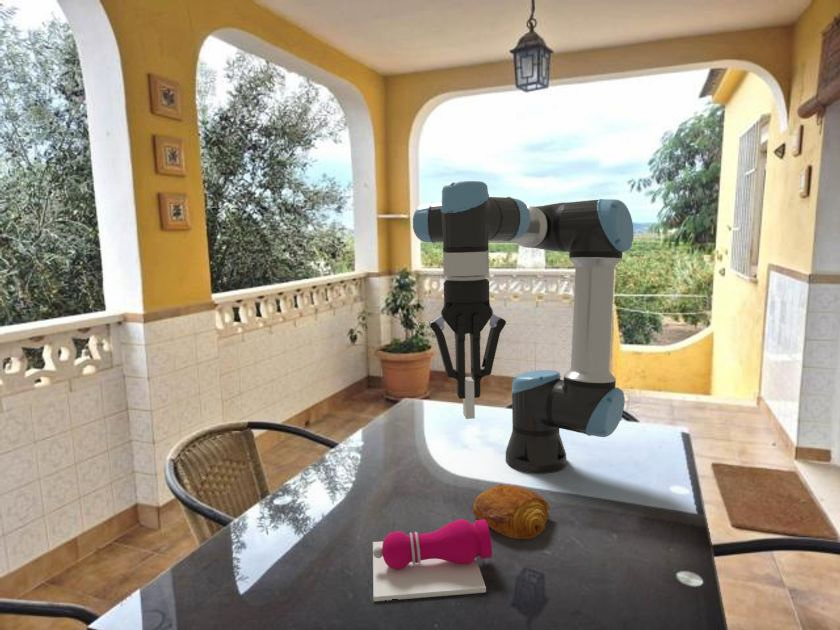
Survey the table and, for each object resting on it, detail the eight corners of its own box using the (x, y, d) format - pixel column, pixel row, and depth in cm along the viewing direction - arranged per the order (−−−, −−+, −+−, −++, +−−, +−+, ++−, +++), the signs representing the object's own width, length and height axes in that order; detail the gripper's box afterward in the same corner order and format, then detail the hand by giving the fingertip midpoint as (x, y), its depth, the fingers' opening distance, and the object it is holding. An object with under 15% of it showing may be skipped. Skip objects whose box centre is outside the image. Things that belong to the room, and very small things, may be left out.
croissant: (509, 560, 100) (512, 522, 98) (460, 514, 113) (462, 480, 111) (566, 535, 107) (569, 500, 105) (513, 495, 120) (516, 462, 118)
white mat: (468, 539, 103) (468, 535, 103) (486, 592, 87) (485, 587, 87) (373, 546, 102) (372, 542, 101) (373, 601, 86) (373, 596, 86)
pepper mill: (484, 544, 99) (374, 559, 97) (482, 508, 98) (370, 522, 96) (494, 569, 92) (375, 586, 90) (491, 530, 90) (371, 546, 89)
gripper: (499, 275, 94) (501, 407, 97) (424, 278, 93) (428, 411, 96) (510, 278, 87) (512, 421, 90) (429, 281, 85) (433, 425, 89)
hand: (469, 416), depth 93 cm, fingers closed
